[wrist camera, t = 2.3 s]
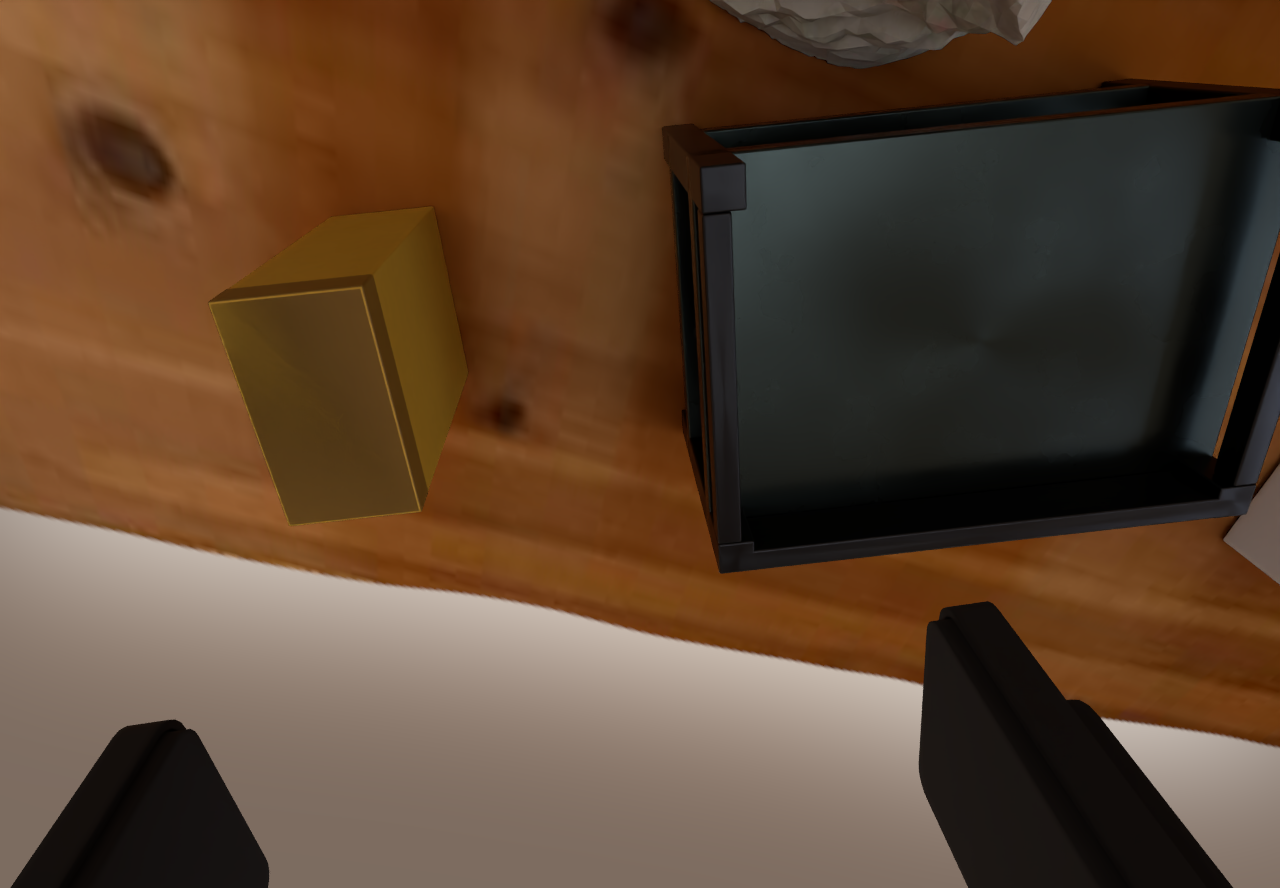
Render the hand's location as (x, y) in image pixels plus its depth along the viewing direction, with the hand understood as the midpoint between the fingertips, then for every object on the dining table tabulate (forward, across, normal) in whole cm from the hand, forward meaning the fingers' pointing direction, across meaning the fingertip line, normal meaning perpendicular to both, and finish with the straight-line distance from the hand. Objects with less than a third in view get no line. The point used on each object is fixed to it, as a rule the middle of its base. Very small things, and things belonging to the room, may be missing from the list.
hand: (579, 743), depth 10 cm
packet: (+24, +7, 0) cm, 25 cm away
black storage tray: (+24, -13, +2) cm, 27 cm away
